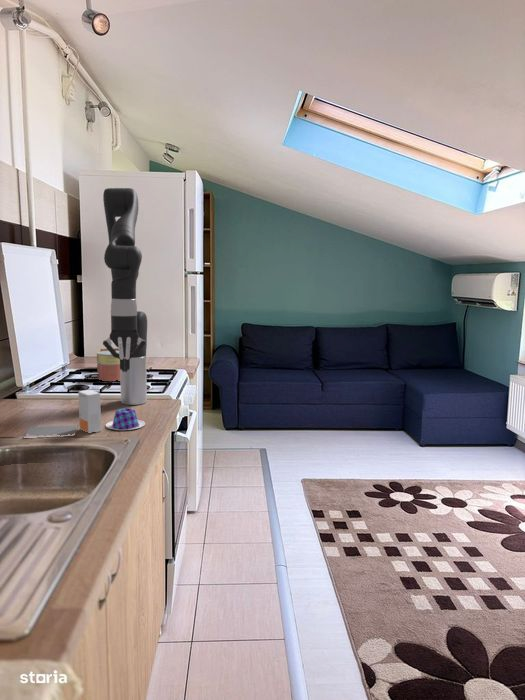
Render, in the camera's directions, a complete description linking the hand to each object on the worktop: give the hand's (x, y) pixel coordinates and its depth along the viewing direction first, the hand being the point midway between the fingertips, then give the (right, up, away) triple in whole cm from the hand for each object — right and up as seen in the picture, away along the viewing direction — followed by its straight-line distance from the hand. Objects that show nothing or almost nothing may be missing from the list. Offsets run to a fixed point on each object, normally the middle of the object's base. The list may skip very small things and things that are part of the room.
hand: (124, 371), depth 165 cm
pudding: (-1, -18, +6) cm, 19 cm away
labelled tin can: (-25, -3, +96) cm, 100 cm away
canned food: (-24, -7, +72) cm, 76 cm away
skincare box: (-11, -18, 0) cm, 21 cm away
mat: (-21, -18, -2) cm, 28 cm away
